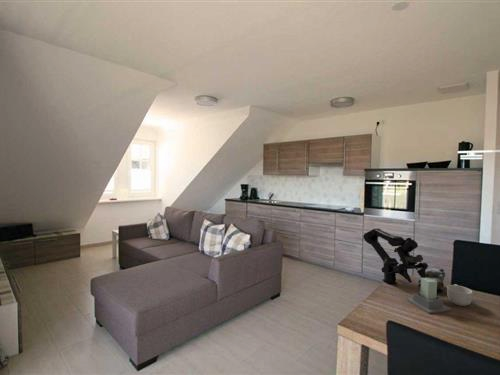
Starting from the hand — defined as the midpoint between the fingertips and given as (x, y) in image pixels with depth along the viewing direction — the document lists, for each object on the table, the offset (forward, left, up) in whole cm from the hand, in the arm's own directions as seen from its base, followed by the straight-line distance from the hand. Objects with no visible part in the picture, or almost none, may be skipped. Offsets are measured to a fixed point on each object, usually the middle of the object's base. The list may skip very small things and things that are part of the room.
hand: (418, 281), depth 146 cm
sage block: (+7, -1, -9) cm, 11 cm away
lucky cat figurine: (-10, +21, -10) cm, 25 cm away
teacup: (+8, +19, -10) cm, 23 cm away
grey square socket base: (+7, -1, -10) cm, 12 cm away
